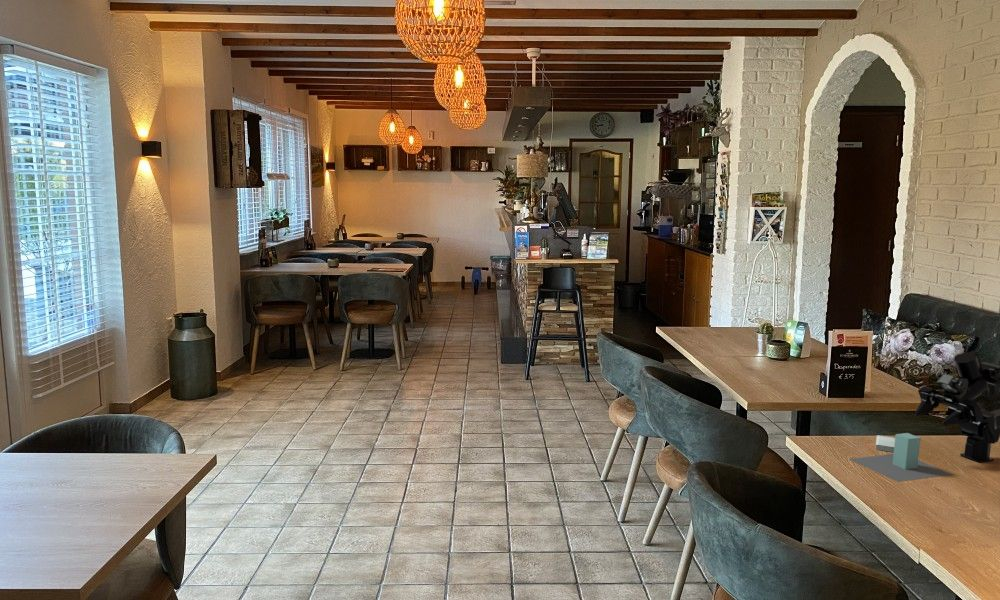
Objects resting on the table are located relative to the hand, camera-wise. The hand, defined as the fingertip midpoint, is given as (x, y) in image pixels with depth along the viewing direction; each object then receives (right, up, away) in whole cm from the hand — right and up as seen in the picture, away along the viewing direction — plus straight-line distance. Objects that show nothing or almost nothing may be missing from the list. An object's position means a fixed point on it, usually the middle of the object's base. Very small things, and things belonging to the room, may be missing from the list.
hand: (929, 419), depth 218 cm
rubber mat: (-9, -14, -1) cm, 17 cm away
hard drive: (-3, -11, +17) cm, 21 cm away
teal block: (-7, -13, 0) cm, 15 cm away
